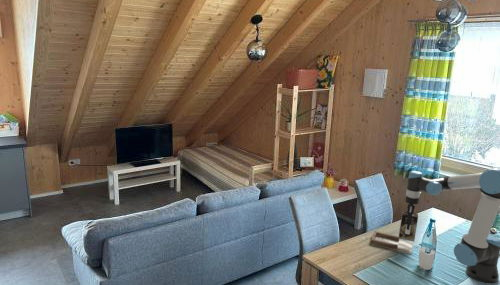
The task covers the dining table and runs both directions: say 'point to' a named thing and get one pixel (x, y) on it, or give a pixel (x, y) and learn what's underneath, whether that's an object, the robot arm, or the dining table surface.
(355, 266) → the dining table surface
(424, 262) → the white cup
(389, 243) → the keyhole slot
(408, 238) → the coffee box
